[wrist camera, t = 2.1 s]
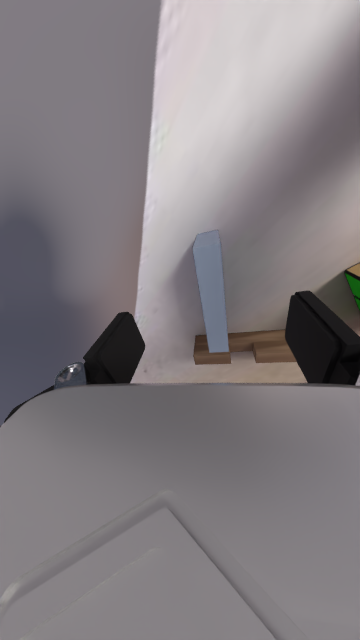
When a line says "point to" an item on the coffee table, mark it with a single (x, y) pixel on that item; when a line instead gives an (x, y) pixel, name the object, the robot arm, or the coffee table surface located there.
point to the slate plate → (211, 289)
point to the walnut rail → (246, 348)
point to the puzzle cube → (354, 281)
